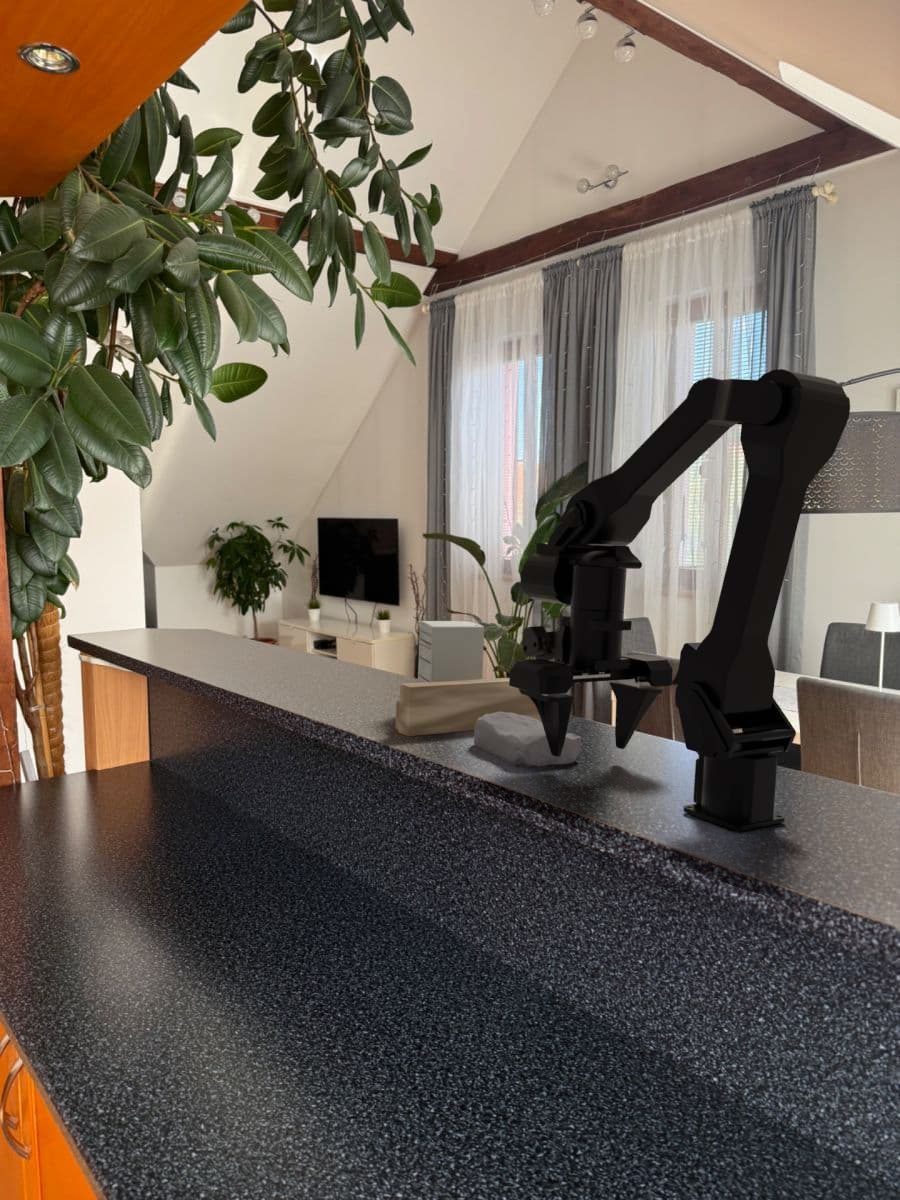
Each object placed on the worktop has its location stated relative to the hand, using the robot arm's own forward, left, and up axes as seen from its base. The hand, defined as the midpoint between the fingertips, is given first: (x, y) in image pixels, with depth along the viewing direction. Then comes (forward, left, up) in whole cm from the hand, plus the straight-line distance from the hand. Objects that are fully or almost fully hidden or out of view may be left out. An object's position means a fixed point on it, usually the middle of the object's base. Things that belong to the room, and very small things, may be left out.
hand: (588, 751), depth 99 cm
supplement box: (+30, -1, -2) cm, 30 cm away
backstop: (+21, 0, -2) cm, 21 cm away
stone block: (+8, +2, -2) cm, 8 cm away
